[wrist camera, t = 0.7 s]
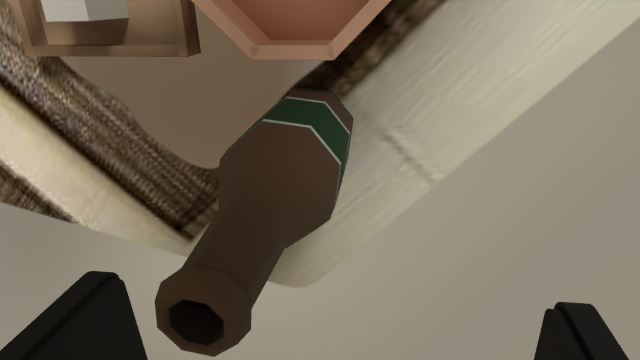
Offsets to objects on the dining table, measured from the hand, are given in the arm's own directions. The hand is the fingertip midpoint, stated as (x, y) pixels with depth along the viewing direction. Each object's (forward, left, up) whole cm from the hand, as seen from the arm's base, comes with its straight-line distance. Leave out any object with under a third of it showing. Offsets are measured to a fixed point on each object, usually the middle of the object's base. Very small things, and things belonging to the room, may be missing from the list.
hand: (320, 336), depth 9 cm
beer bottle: (+4, -5, -28) cm, 28 cm away
